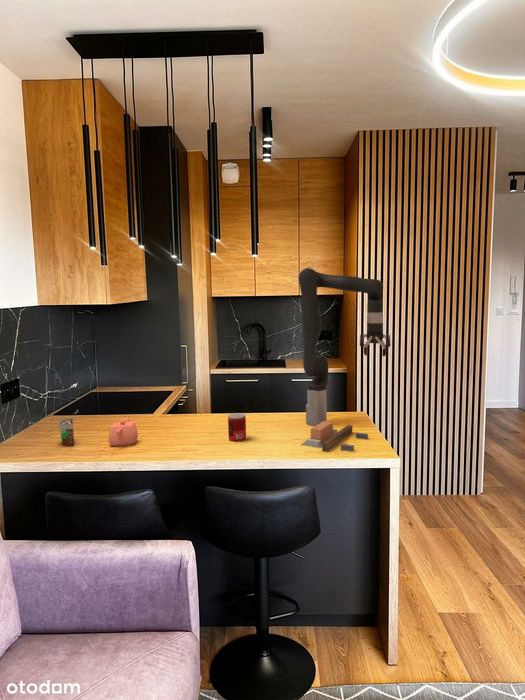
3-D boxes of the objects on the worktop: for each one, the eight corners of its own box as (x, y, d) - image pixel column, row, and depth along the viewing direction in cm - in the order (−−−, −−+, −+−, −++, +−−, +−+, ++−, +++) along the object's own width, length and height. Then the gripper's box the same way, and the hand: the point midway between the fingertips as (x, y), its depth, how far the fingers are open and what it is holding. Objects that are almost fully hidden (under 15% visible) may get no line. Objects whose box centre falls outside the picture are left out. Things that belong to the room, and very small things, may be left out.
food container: (59, 440, 234) (57, 419, 232) (74, 438, 236) (72, 417, 234) (59, 448, 222) (57, 426, 221) (74, 446, 224) (72, 424, 223)
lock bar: (310, 442, 221) (310, 428, 220) (323, 433, 233) (323, 420, 232) (320, 443, 219) (320, 430, 218) (332, 435, 231) (332, 422, 230)
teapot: (105, 449, 219) (103, 426, 218) (116, 437, 237) (115, 415, 235) (132, 449, 219) (131, 425, 218) (141, 436, 237) (140, 414, 235)
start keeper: (340, 449, 211) (340, 445, 211) (357, 436, 228) (357, 432, 228) (352, 451, 209) (352, 446, 208) (367, 438, 226) (367, 433, 226)
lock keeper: (301, 444, 219) (301, 439, 219) (321, 431, 238) (321, 426, 238) (322, 448, 214) (322, 442, 214) (341, 434, 233) (341, 429, 233)
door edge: (322, 451, 210) (322, 443, 209) (348, 432, 236) (348, 424, 235) (326, 452, 209) (326, 443, 208) (352, 432, 235) (352, 425, 234)
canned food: (249, 438, 230) (248, 414, 229) (239, 442, 224) (239, 418, 222) (235, 435, 234) (234, 412, 233) (225, 440, 228) (224, 416, 226)
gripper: (392, 321, 242) (391, 355, 244) (363, 321, 249) (363, 354, 251) (387, 322, 236) (387, 357, 238) (357, 322, 243) (357, 356, 245)
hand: (374, 355), depth 244 cm, fingers open, 8 cm apart
